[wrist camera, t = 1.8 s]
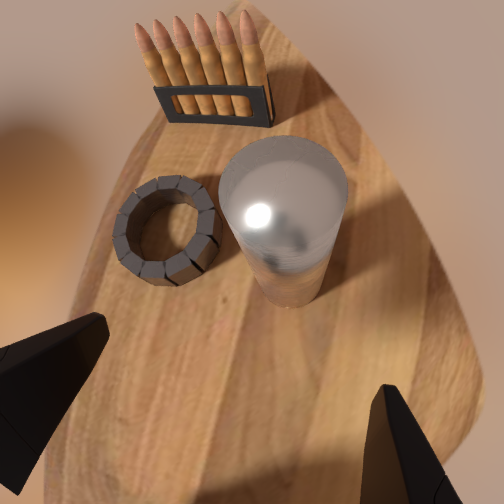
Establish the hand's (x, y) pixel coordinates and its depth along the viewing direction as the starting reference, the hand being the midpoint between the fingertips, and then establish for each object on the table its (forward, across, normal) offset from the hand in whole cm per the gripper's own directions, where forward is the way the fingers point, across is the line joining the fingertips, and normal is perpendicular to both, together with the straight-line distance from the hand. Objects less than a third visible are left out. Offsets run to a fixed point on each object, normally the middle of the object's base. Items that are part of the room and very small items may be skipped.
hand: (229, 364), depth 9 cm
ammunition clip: (+23, +9, -5) cm, 26 cm away
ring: (+14, +10, +4) cm, 17 cm away
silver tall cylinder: (+13, 0, +5) cm, 14 cm away
